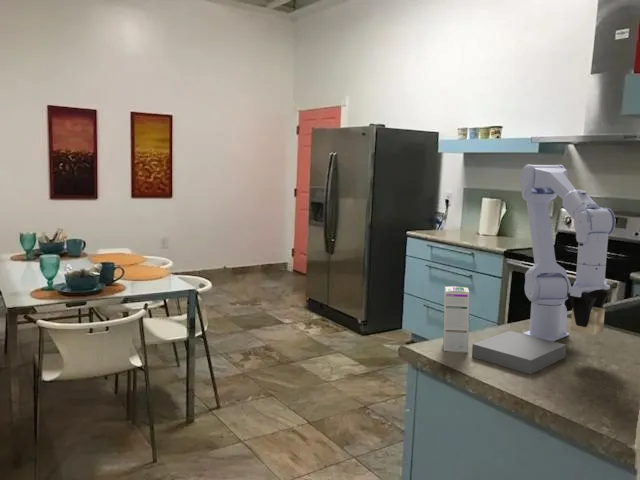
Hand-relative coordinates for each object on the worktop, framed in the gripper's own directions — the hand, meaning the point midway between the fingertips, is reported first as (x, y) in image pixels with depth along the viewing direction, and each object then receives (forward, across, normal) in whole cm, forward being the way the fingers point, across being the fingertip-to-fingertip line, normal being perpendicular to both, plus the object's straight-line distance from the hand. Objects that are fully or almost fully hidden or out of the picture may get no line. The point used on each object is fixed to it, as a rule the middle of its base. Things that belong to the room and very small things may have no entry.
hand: (586, 323), depth 123 cm
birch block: (+2, 0, 0) cm, 2 cm away
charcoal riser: (+8, -10, +11) cm, 17 cm away
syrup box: (+9, -16, +24) cm, 30 cm away
